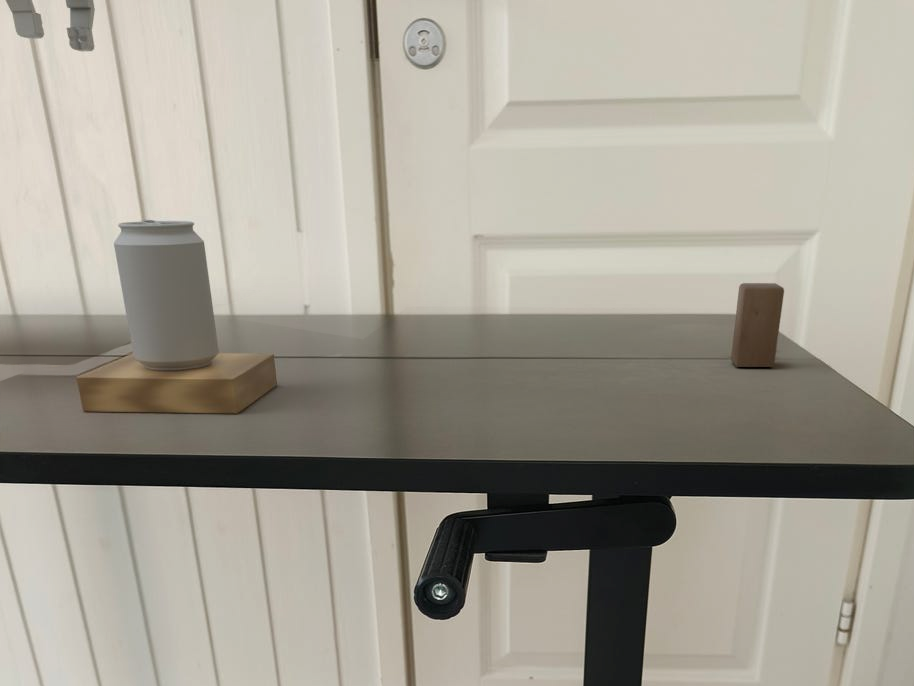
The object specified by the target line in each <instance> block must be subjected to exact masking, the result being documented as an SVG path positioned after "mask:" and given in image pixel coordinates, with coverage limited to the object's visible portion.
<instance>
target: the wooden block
mask: <svg viewBox="0 0 914 686" xmlns="http://www.w3.org/2000/svg"><path fill="white" fill-rule="evenodd" d="M784 295H785V288H784V287H783V286H781V285H779V283H778V284H777V283H776V282H766V283H765V282H743V283H740V285H739V286H738V293H737V302H736V309H735V311H736V312H735V319H734V328H733V336H732V337H733V338H732V339H733V340H732V346H731V355H730V360H731V362H732V363H733V365H734V366H735V367H736V368H738V367H772V368H773V367H774V366H775V364H776V363H775V362H776V355H777V346H778V342H779V341H778V339H779V334H780V333H779V332H780V326H781V318H782V312H783V311H782V309H783V305H784V304H783V303H784Z"/></svg>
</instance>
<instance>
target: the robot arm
mask: <svg viewBox="0 0 914 686" xmlns="http://www.w3.org/2000/svg"><path fill="white" fill-rule="evenodd" d="M5 1H6V4H7V6H8V8H9V10H10V12H11V14H12V19H13V23H14V28H15V32H16V34H17V35H18V36H19V37H21V38H25V39H31V40H33V39H34V40H35V39H38V40H39V39H43V38H44V36H45V29H44V27H43V20H42V15H41V13H38V12H37V11H36V7H35V6H34V2H33V0H5ZM65 4H66V8H67V9H69V27H66V33H67V37H68V44H69V47H70V48H71V49H72V50H73V51H74V50H75V51H78V52H93V51H94V49H95V41H94V35H93V26H94V20H95V19H94V18H95V10H96V9H95V2H94V0H65Z"/></svg>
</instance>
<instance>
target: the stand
mask: <svg viewBox="0 0 914 686" xmlns="http://www.w3.org/2000/svg"><path fill="white" fill-rule="evenodd" d="M76 384H77V388H78V389H77V390H78V393H79V398H80V404H81V408H82V411H83V412H84V413H85V412H93V413H94V412H95V413H154V414H155V413H156V414H157V413H159V414H161V413H163V414H164V413H165V414H223V415H225V414H228V415H230V414H231V415H234V414H235V415H237V414H239V413H241V412H242V411H243V410H245V409H246V408H247V407H249V406H250V405H252V404H253V403H254V402H256V401H257V400H259V399H260V398H261V397H263V396H264V395H265V394H267V393H268V392H269V391H271V390H273V389H274V388H275V387H276V386H278V380H277V370H276V360H275V354H274V353H234V352H233V353H229V352H228V353H227V352H225V353H224V352H223V353H220V352H219V353H218V354H217V355H216V356H215V357H214V359H213V360H212V362H211V363H210V364H209V365H206V366H204V367H199V368H194V369H186V370H152V369H148V368H145V367H144V365H143V364H141V363H140V362H139V361H137V360H136V359H134V355H133V353H130V354H128V355H126V356H123V357H121V358H119V359H116V360H114V361H111V362H109V363H107V364H105V365H102V366H99V367H98V368H95V369H93V370H90V371H88V372H85V373H83V374H80V375H78V376H76Z"/></svg>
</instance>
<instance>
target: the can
mask: <svg viewBox="0 0 914 686" xmlns="http://www.w3.org/2000/svg"><path fill="white" fill-rule="evenodd" d="M117 225H118V228H120V233H119V234H118V236H117V237H116V239H115V240H114V242H113V248H114V253H115V259H116V264H117V270H118V275H119V280H120V286H121V287H120V288H121V293H122V298H123V304H124V309H125V316H126V322H127V328H128V331H129V337H130V344H131V349H132V354H133V355H134V359H136V360H137V361H139V362H140V363H141V364H143V365H144V367H145V368H148V369H152V370H186V369H194V368H199V367H204V366H206V365H209V364H210V363H211V362H212V360H213V359H214V357H215V356H216V355H217V354H218V353H220V351H219V343H218V337H217V336H218V335H217V327H216V320H215V314H214V307H213V299H212V291H211V283H210V275H209V267H208V262H207V254H206V246H205V241H204V240H203V238H202V237H200V235H199V234H198V233H197V232H196V231H195V230H194V225H195V222H194V221H190V220H154V219H142V220H140V221H128V222H127V221H126V222H119V223H118V224H117Z"/></svg>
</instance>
